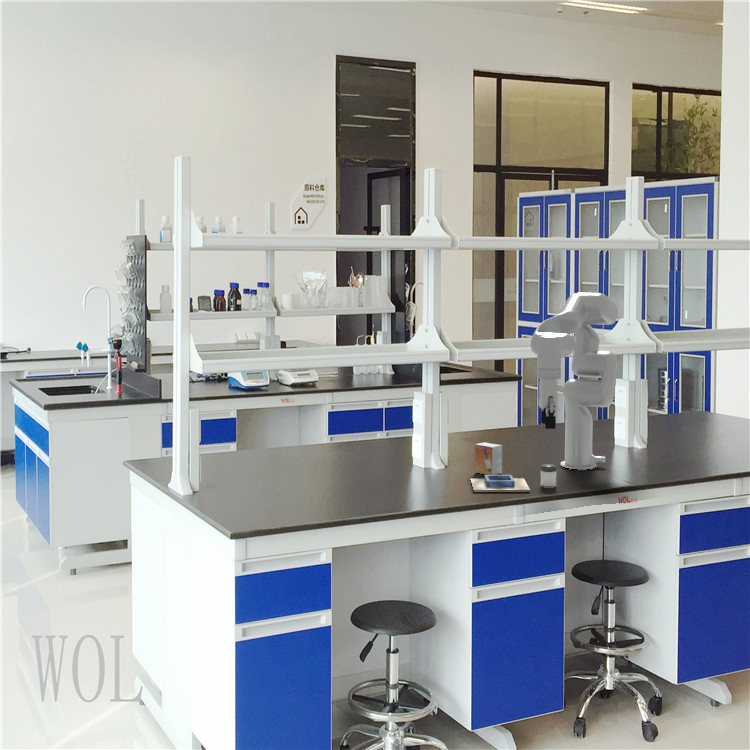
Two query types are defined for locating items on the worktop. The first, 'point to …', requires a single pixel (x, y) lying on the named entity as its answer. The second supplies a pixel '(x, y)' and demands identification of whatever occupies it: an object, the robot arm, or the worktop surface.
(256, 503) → the worktop surface
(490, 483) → the mount plate
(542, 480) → the gray domed white cylinder
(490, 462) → the small box
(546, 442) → the worktop surface
